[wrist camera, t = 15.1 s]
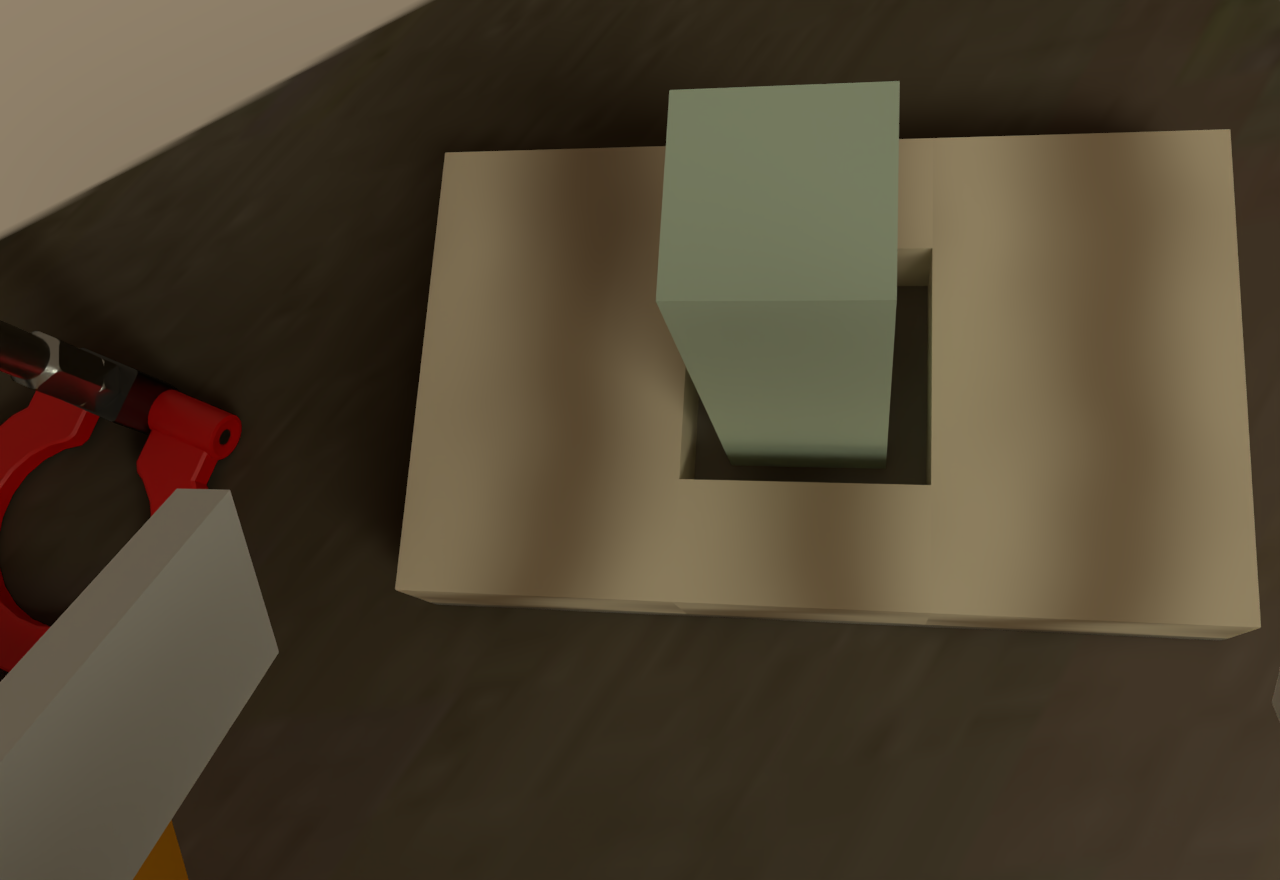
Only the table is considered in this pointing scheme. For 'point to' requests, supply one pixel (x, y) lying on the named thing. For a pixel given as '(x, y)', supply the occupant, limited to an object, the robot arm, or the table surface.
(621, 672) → the table surface
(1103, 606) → the block with square hole
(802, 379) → the peg
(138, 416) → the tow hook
